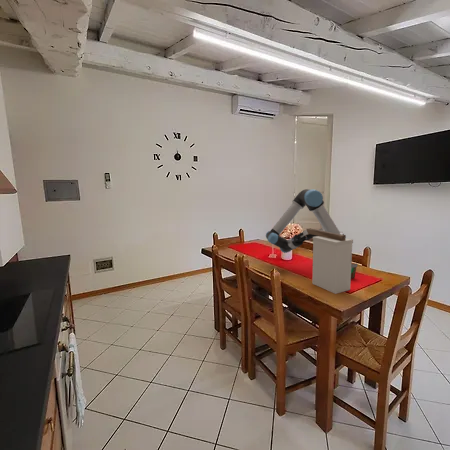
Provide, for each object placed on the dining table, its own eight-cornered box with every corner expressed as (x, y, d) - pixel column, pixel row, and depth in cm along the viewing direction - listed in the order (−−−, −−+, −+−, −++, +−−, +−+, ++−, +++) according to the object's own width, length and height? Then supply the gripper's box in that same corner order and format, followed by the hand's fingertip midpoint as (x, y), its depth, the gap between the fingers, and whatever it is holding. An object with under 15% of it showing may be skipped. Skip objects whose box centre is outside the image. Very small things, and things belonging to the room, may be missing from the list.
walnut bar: (309, 232, 175) (309, 228, 175) (345, 240, 150) (345, 235, 150) (306, 233, 174) (306, 228, 174) (341, 240, 149) (341, 235, 149)
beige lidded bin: (326, 280, 172) (328, 234, 168) (350, 289, 156) (353, 239, 152) (311, 283, 167) (312, 236, 162) (334, 294, 151) (336, 242, 146)
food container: (334, 275, 180) (334, 261, 178) (339, 273, 183) (339, 259, 182) (351, 280, 170) (352, 265, 169) (356, 278, 174) (357, 263, 172)
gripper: (311, 244, 191) (331, 234, 172) (282, 249, 180) (301, 238, 162) (307, 234, 193) (327, 223, 175) (279, 238, 182) (297, 227, 164)
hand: (315, 230), depth 168 cm, fingers open, 13 cm apart
